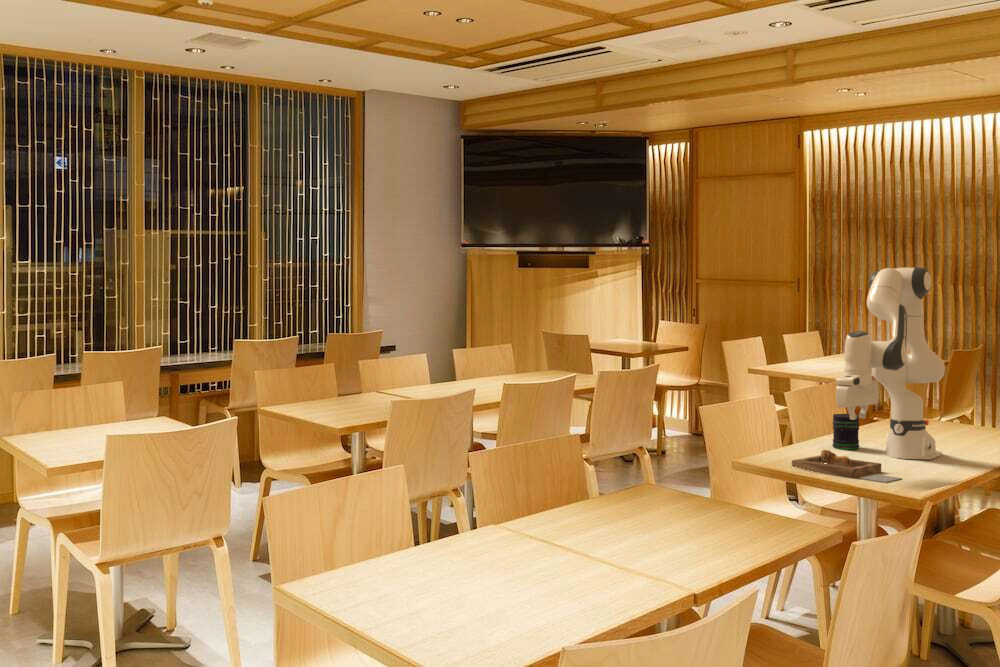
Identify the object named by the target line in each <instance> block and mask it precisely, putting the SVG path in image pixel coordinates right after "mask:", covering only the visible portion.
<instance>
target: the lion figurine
mask: <svg viewBox="0 0 1000 667" xmlns="http://www.w3.org/2000/svg"><path fill="white" fill-rule="evenodd" d="M820 455H821V458H822V459H823V460H824V461H825V462H826V463H828V464H830V465H834V464H837V465H839V464H842V463H843V464H844V466H845V467H850V466H849V465H848V463H850V465H851V468H852V464H851V461H850V457H848V456H846V455H843V456H841V455H840V456H838V455H837V454H836V453H834V452H832V451H831V450H828V449H822V450H821V452H820Z"/></svg>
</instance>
